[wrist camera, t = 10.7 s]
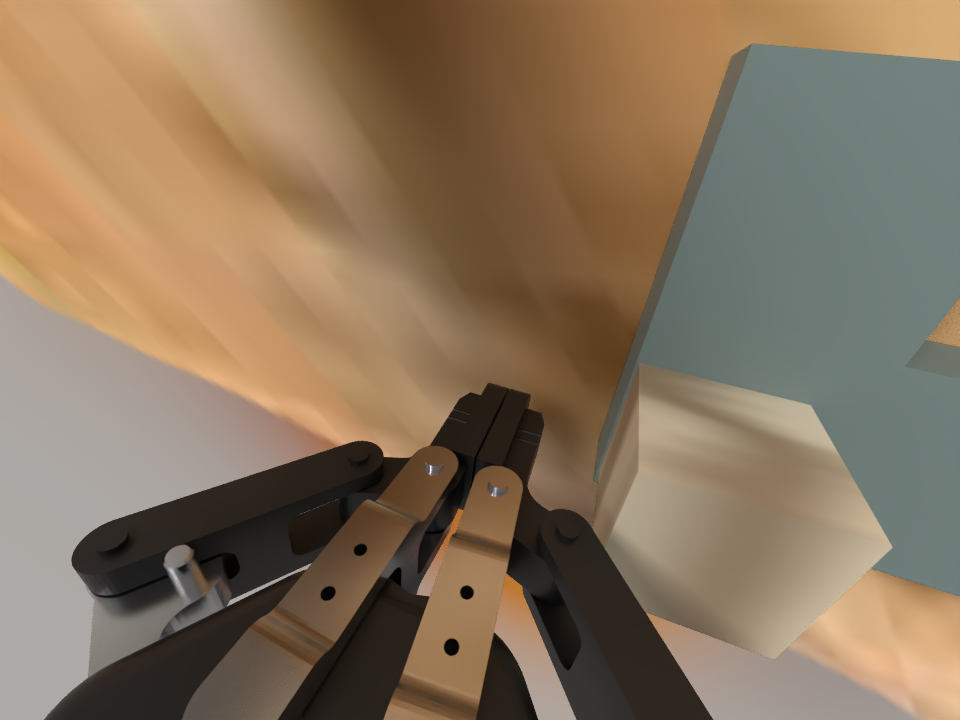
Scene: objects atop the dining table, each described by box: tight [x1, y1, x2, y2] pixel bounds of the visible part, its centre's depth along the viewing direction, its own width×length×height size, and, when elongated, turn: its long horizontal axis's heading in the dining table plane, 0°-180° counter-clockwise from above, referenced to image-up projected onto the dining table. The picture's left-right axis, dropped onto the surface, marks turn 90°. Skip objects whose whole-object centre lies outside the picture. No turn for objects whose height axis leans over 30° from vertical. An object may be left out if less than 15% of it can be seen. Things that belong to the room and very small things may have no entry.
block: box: [593, 363, 893, 660], centre depth 12 cm, size 5×5×5 cm
